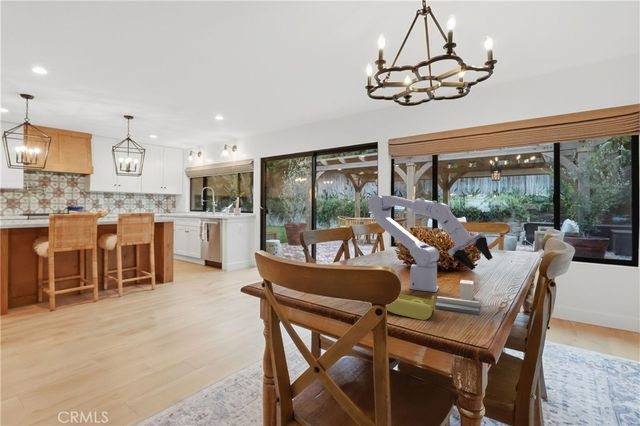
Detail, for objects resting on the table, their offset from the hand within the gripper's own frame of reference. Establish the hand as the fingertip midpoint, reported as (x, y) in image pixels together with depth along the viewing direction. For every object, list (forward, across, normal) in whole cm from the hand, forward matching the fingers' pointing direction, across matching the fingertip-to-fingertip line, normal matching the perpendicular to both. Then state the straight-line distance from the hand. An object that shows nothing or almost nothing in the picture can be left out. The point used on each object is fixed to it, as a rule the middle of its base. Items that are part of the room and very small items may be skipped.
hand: (482, 264), depth 105 cm
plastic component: (0, -34, -3) cm, 34 cm away
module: (+7, -9, +6) cm, 13 cm away
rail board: (+7, -17, -1) cm, 18 cm away
